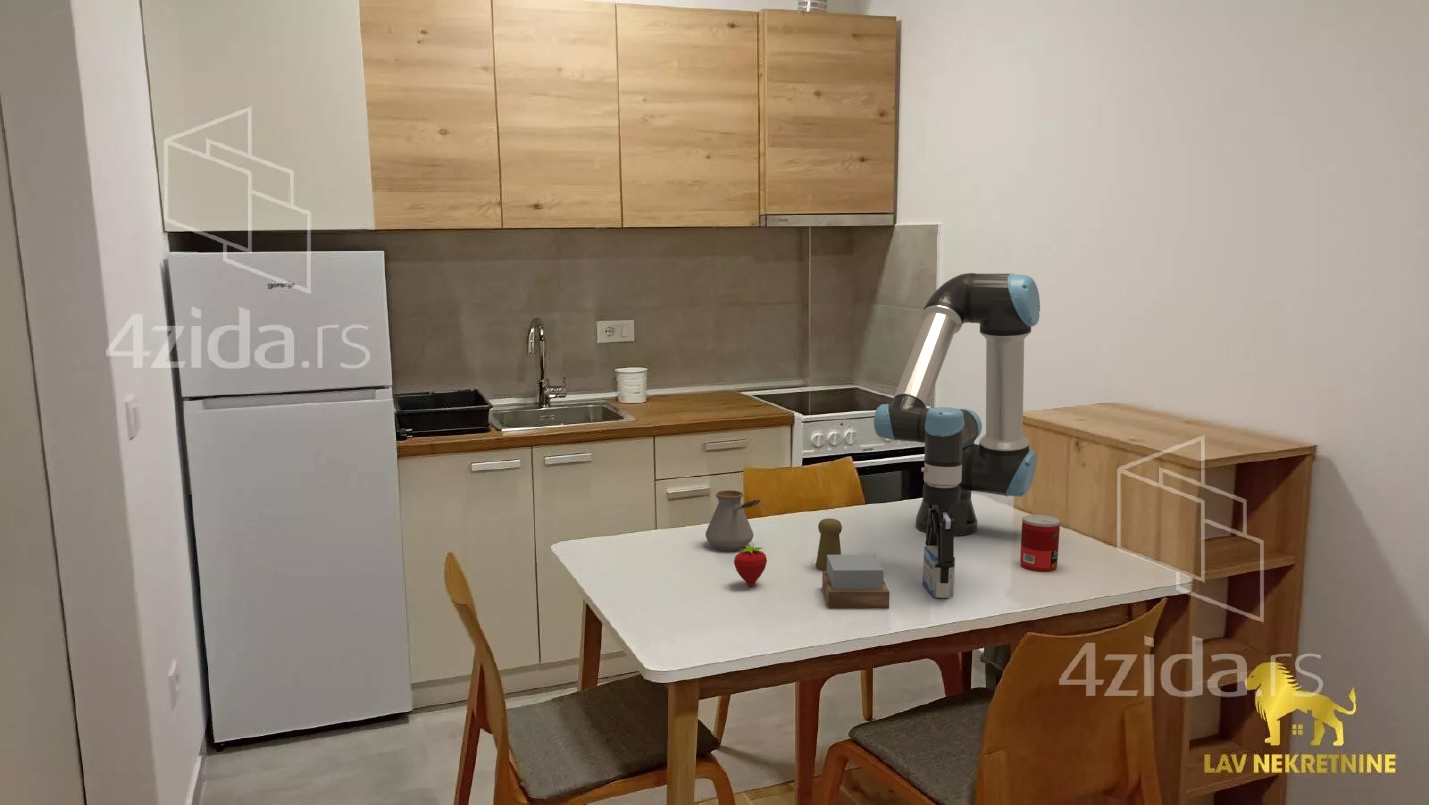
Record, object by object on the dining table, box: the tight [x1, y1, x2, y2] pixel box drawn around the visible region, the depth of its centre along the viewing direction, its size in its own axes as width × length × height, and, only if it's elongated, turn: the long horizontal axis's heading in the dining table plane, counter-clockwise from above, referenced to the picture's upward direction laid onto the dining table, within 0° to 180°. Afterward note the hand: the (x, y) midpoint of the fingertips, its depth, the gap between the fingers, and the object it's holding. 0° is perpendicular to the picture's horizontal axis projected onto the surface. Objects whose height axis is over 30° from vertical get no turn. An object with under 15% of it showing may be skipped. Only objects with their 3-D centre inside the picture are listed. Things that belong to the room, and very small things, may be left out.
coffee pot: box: [705, 490, 765, 552], centre depth 237 cm, size 21×12×15 cm, turn 25°
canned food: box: [1019, 514, 1061, 573], centre depth 228 cm, size 8×8×11 cm
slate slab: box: [827, 554, 885, 590], centre depth 208 cm, size 10×10×4 cm
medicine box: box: [921, 545, 956, 598], centre depth 212 cm, size 8×4×9 cm, turn 5°
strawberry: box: [733, 540, 768, 587], centre depth 215 cm, size 6×8×10 cm
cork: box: [815, 518, 843, 572], centre depth 227 cm, size 6×6×11 cm
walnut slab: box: [821, 571, 891, 610], centre depth 208 cm, size 12×12×4 cm
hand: (937, 589), depth 213 cm, fingers closed on medicine box, 8 cm apart
